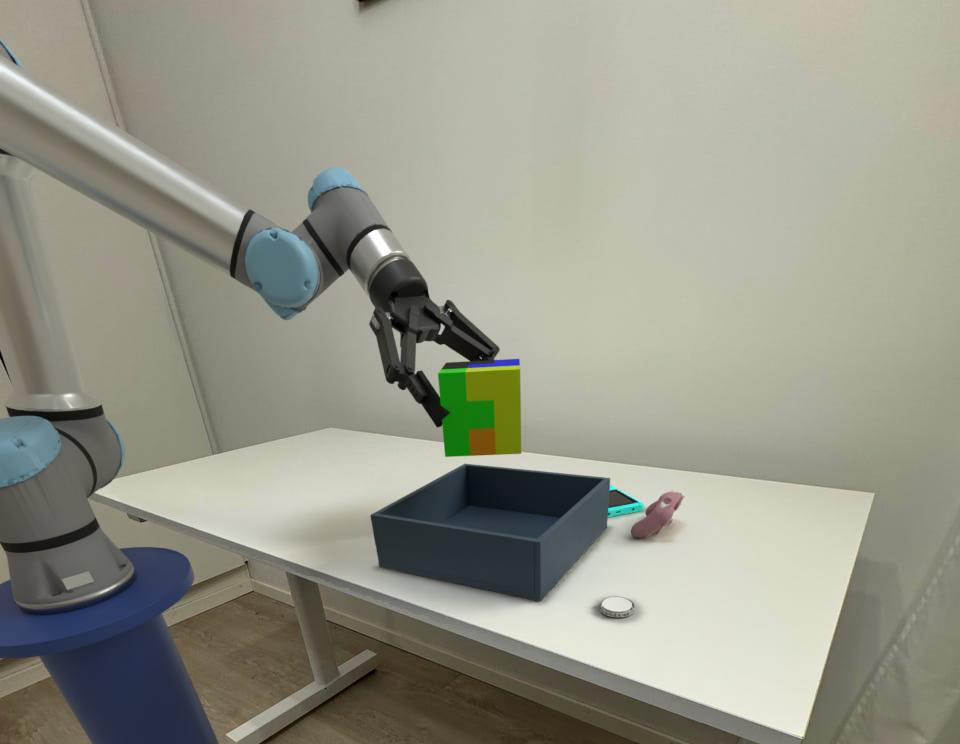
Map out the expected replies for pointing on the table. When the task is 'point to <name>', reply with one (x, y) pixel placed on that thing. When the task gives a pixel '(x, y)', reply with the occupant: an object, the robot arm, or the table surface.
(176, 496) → the table surface
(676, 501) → the video game controller
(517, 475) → the bin
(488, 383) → the puzzle toy
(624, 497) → the handheld game console
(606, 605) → the white grey disc
